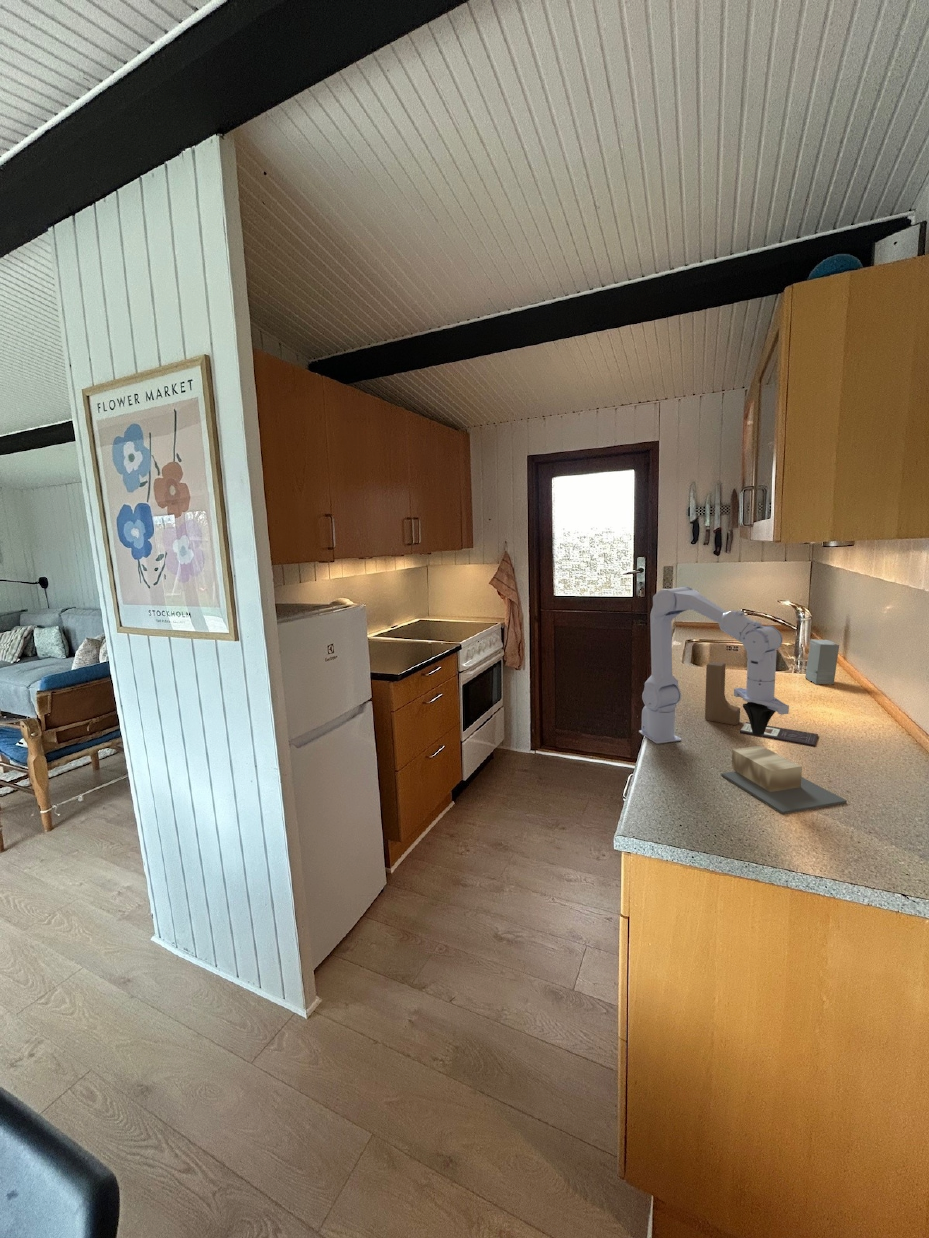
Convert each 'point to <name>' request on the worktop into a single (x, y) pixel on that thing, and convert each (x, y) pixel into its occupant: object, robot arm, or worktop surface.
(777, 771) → the birch block
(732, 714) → the wooden block
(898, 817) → the worktop surface
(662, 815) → the worktop surface
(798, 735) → the chocolate bar
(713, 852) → the worktop surface
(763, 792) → the mat
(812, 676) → the skincare box
